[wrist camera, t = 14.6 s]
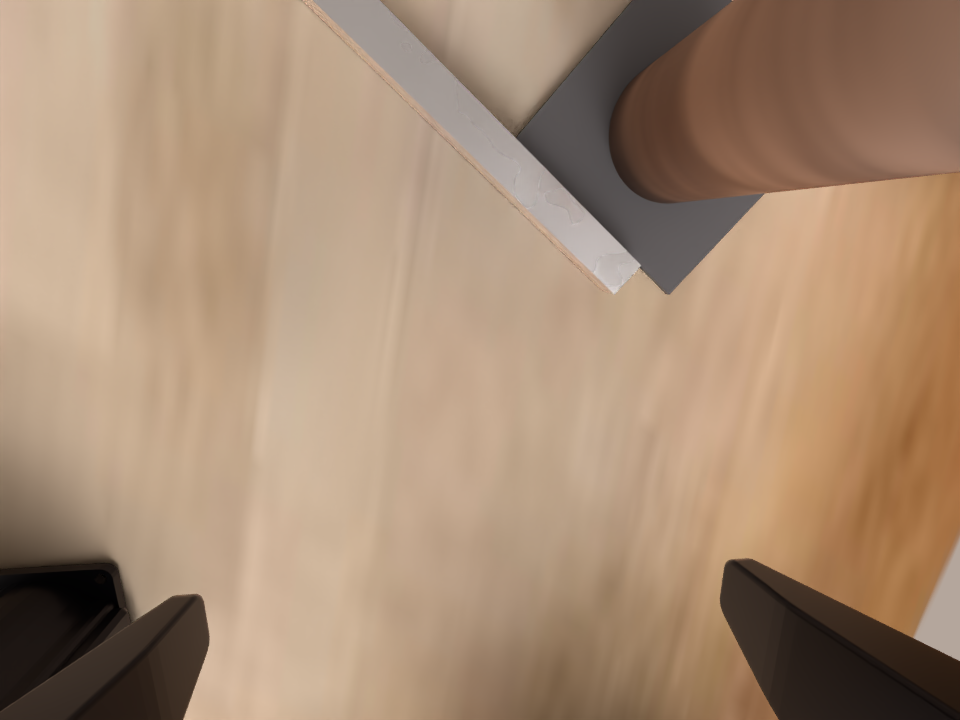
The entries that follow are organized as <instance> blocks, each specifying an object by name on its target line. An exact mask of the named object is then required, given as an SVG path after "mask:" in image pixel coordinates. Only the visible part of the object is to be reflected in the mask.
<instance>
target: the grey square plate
mask: <svg viewBox="0 0 960 720" xmlns="http://www.w3.org/2000/svg"><path fill="white" fill-rule="evenodd" d="M731 2H732V0H632V1H631V3H630V4H629V5H628V6H627V7H626V8H625V10H624V11H623V12H622V13H621V14H620V16H619V17H618V18H617V19H616V20H615V21H614V23H613V24H612V25H611V26H610V27H609V28H608V30H607V31H606V32H605V33H604V34H603V36H602V37H601V38H600V39H599V40H598V41H597V43H596V44H595V45H594V46H593V47H592V49H591V50H590V51H589V52H588V53H587V54H586V56H585V57H584V58H583V59H582V60H581V61H580V63H579V64H578V65H577V66H576V67H575V69H574V70H573V71H572V72H571V73H570V74H569V76H568V77H567V78H566V79H565V80H564V82H563V83H562V84H561V85H560V86H559V87H558V89H557V90H556V91H555V92H554V93H553V95H552V96H551V97H550V98H549V99H548V100H547V102H546V103H545V104H544V105H543V106H542V107H541V109H540V110H539V111H538V112H537V113H536V115H535V116H534V117H533V118H532V119H531V120H530V122H529V123H528V124H527V125H526V126H525V128H524V129H523V130H522V131H521V132H520V133H519V135H518V136H517V137H516V139H517V140H518V141H519V142H520V143H521V144H522V145H523V146H524V147H525V148H526V149H527V150H528V151H529V152H530V153H531V154H532V155H533V156H534V157H535V158H536V159H537V160H538V161H539V162H540V163H541V164H542V165H543V166H544V167H545V168H546V169H547V170H548V171H549V172H550V173H551V174H552V175H553V176H554V177H555V178H556V179H557V180H558V181H559V183H560V184H561V185H562V186H563V187H564V188H565V189H566V190H567V191H568V192H569V193H570V194H571V195H572V196H573V197H574V198H575V199H576V200H577V201H578V202H579V203H580V204H581V205H582V206H583V207H584V208H585V209H586V210H587V211H588V212H589V213H590V214H591V215H592V216H593V217H594V218H595V219H596V220H597V221H598V222H599V223H600V224H601V225H602V226H603V227H604V228H605V229H606V230H607V231H608V232H609V233H610V234H611V235H612V236H613V237H614V238H615V239H616V240H617V241H618V242H619V243H620V244H621V245H622V246H623V247H624V248H625V249H626V250H627V251H628V252H629V254H630V255H631V256H632V257H633V258H634V259H635V260H636V261H637V262H638V263H639V264H640V265H641V266H640V268H641V269H642V270H643V271H644V272H645V273H646V274H647V275H648V276H649V277H650V278H651V279H652V280H653V281H654V282H655V283H656V284H657V285H658V286H659V287H660V288H661V289H662V290H663V291H664V292H665V293H666V294H670V293H671V292H672V291H673V290H674V289H675V288H676V287H677V286H678V285H679V284H680V283H681V282H682V280H683V279H684V278H685V277H686V276H687V275H688V274H689V273H690V272H691V271H692V270H693V269H694V268H695V267H696V266H697V265H698V263H699V262H700V261H701V260H702V259H703V258H704V257H705V256H706V255H707V254H708V253H709V252H710V251H711V250H712V249H713V248H714V247H715V245H716V244H717V243H718V242H719V241H720V240H721V239H722V238H723V237H724V236H725V235H726V234H727V233H728V232H729V231H730V230H731V229H732V227H733V226H734V225H735V224H736V223H737V222H738V221H739V220H740V219H741V218H742V217H743V216H744V215H745V214H746V213H747V212H748V210H749V209H750V208H751V207H752V206H753V205H754V204H755V203H756V202H757V201H758V200H759V199H760V198H761V197H762V196H763V195H764V194H765V193H763V194H754V195H744V196H735V197H726V198H717V199H708V200H698V201H689V202H680V203H670V204H667V203H657V202H652V201H649V200H647V199H644V198H642V197H640V196H639V195H637V194H636V193H634V192H633V191H632V190H631V189H630V188H628V187H627V186H626V185H625V183H624V182H623V181H622V179H621V178H620V176H619V175H618V173H617V171H616V169H615V167H614V164H613V162H612V158H611V154H610V148H609V128H610V122H611V117H612V113H613V111H614V108H615V105H616V103H617V101H618V99H619V97H620V95H621V94H622V92H623V91H624V89H625V88H626V86H627V85H628V84H629V83H630V82H631V81H632V80H633V79H634V78H635V77H636V76H637V75H638V74H639V73H640V72H642V71H643V70H644V69H646V68H647V67H648V66H649V65H651V64H652V63H653V62H655V61H656V60H657V59H658V58H660V57H661V56H662V55H664V54H665V53H666V52H667V51H669V50H670V49H671V48H673V47H674V46H675V45H676V44H678V43H679V42H680V41H682V40H683V39H684V38H686V37H687V36H688V35H689V34H691V33H692V32H693V31H695V30H696V29H697V28H698V27H700V26H701V25H702V24H704V23H705V22H706V21H707V20H709V19H710V18H711V17H713V16H714V15H715V14H716V13H718V12H719V11H720V10H722V9H723V8H724V7H725V6H727V5H728V4H729V3H731Z"/></svg>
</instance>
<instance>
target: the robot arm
mask: <svg viewBox="0 0 960 720" xmlns="http://www.w3.org/2000/svg"><path fill="white" fill-rule="evenodd" d="M101 574H103V575H104V576H106V578H104V577H103V576H102V575H101ZM720 604H721V609H722V612H723V614H724V616H725V618H726V620H727V622H728V624H729V626H730V628H731V630H732V632H733V634H734V636H735V638H736V640H737V642H738V644H739V646H740V648H741V650H742V652H743V654H744V656H745V658H746V660H747V662H748V664H749V666H750V668H751V670H752V672H753V674H754V676H755V678H756V680H757V682H758V683H759V685H760V687H761V689H762V691H763V693H764V695H765V697H766V699H767V700H768V702H769V704H770V706H771V707H772V709H773V711H774V712H775V714H776V716H777V717H778V719H779V720H960V661H958V660H956V659H954V658H952V657H950V656H948V655H946V654H944V653H942V652H940V651H938V650H936V649H934V648H932V647H930V646H928V645H926V644H924V643H922V642H920V641H918V640H916V639H914V638H912V637H910V636H908V635H905V634H903V633H901V632H899V631H897V630H895V629H893V628H891V627H889V626H887V625H885V624H883V623H881V622H879V621H877V620H875V619H873V618H871V617H869V616H867V615H865V614H863V613H861V612H859V611H857V610H855V609H853V608H851V607H849V606H846V605H844V604H842V603H840V602H838V601H836V600H834V599H832V598H830V597H828V596H826V595H824V594H822V593H820V592H818V591H816V590H814V589H812V588H810V587H808V586H806V585H804V584H802V583H800V582H798V581H796V580H794V579H792V578H789V577H787V576H785V575H783V574H781V573H779V572H777V571H775V570H773V569H771V568H769V567H767V566H765V565H763V564H761V563H759V562H757V561H755V560H753V559H748V558H746V559H731V560H729V561H727V562H726V564H725V567H724V573H723V580H722V587H721V594H720ZM208 647H209V629H208V623H207V617H206V611H205V605H204V601H203V598H202V597H201V596H200V595H198V594H188V595H176V596H172V597H170V598H169V599H167V600H166V601H164V602H163V603H161V604H160V605H158V606H157V607H155V608H154V609H152V610H151V611H149V612H148V613H146V614H145V615H143V616H142V617H140V618H139V619H137V620H136V621H134V622H133V623H131V622H130V618H129V613H128V611H127V609H126V604H125V599H124V595H123V590H122V585H121V581H120V576H119V572H118V570H117V568H116V567H115V566H114V565H111V564H108V563H99V564H82V565H65V566H48V567H32V568H15V569H0V720H183V719H184V716H185V713H186V710H187V708H188V705H189V702H190V699H191V696H192V694H193V691H194V688H195V685H196V682H197V680H198V677H199V674H200V671H201V668H202V665H203V663H204V660H205V657H206V654H207V651H208Z"/></svg>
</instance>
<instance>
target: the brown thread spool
mask: <svg viewBox="0 0 960 720" xmlns="http://www.w3.org/2000/svg"><path fill="white" fill-rule="evenodd" d="M609 148H610V154H611V158H612V162H613V164H614V167H615V169H616V171H617V173H618V175H619V176H620V178H621V179H622V181H623V182H624V183H625V185H626V186H627V187H628V188H630V189H631V190H632V191H633V192H634V193H636V194H637V195H639V196H640V197H642V198H644V199H647V200H649V201H652V202H657V203H667V204H670V203H680V202H689V201H698V200H708V199H717V198H726V197H735V196H744V195H754V194H763V193H772V192H781V191H790V190H799V189H809V188H818V187H827V186H836V185H845V184H855V183H864V182H873V181H882V180H891V179H900V178H910V177H919V176H928V175H937V174H946V173H956V172H960V0H733V1H732V2H731V3H729V4H728V5H727V6H725V7H724V8H723V9H722V10H720V11H719V12H718V13H716V14H715V15H714V16H713V17H711V18H710V19H709V20H707V21H706V22H705V23H704V24H702V25H701V26H700V27H698V28H697V29H696V30H695V31H693V32H692V33H691V34H689V35H688V36H687V37H686V38H684V39H683V40H682V41H680V42H679V43H678V44H676V45H675V46H674V47H673V48H671V49H670V50H669V51H667V52H666V53H665V54H664V55H662V56H661V57H660V58H658V59H657V60H656V61H655V62H653V63H652V64H651V65H649V66H648V67H647V68H646V69H644V70H643V71H642V72H640V73H639V74H638V75H637V76H636V77H635V78H634V79H633V80H632V81H631V82H630V83H629V84H628V85H627V86H626V88H625V89H624V91H623V92H622V94H621V95H620V97H619V99H618V101H617V103H616V105H615V108H614V111H613V113H612V117H611V122H610V128H609Z"/></svg>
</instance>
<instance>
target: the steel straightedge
mask: <svg viewBox="0 0 960 720" xmlns="http://www.w3.org/2000/svg"><path fill="white" fill-rule="evenodd" d="M302 1H303V2H304V3H305V4H306V5H308V6H309V7H310V8H311V9H312V10H313V11H314V12H315V13H316V14H317V15H318V16H319V17H320V18H321V19H322V20H323V21H324V22H325V23H326V24H327V25H328V26H329V27H330V28H331V29H332V30H333V31H334V32H335V33H336V34H337V35H338V36H339V37H341V38H342V39H343V40H344V41H345V42H346V43H347V44H348V45H349V46H350V47H351V48H352V49H353V50H354V51H355V52H356V53H357V54H358V55H359V56H360V57H361V58H362V59H363V60H364V61H365V62H366V63H367V64H368V65H369V66H370V67H371V68H373V69H374V70H375V71H376V72H377V73H378V74H379V75H380V76H381V77H382V78H383V79H384V80H385V81H386V82H387V83H388V84H389V85H390V86H391V87H392V88H393V89H394V90H395V91H396V92H397V93H398V94H399V95H400V96H401V97H402V98H403V99H405V100H406V101H407V102H408V103H409V104H410V105H411V106H412V107H413V108H414V109H415V110H416V111H417V112H418V113H419V114H420V115H421V116H422V117H423V118H424V119H425V120H426V121H427V122H428V123H429V124H430V125H431V126H432V127H433V128H434V129H435V130H437V131H438V132H439V133H440V134H441V135H442V136H443V137H444V138H445V139H446V140H447V141H448V142H449V143H450V144H451V145H452V146H453V147H454V148H455V149H456V150H457V151H458V152H459V153H460V154H461V155H462V156H463V157H464V158H465V159H466V160H467V161H469V162H470V163H471V164H472V165H473V166H474V167H475V168H476V169H477V170H478V171H479V172H480V173H481V174H482V175H483V176H484V177H485V178H486V179H487V180H488V181H489V182H490V183H491V184H492V185H493V186H494V187H495V188H496V189H497V190H498V191H499V192H501V193H502V194H503V195H504V196H505V197H506V198H507V199H508V200H509V201H510V202H511V203H512V204H513V205H514V206H515V207H516V208H517V209H518V210H519V211H520V212H521V213H522V214H523V215H524V216H525V217H526V218H527V219H528V220H529V221H530V222H531V223H533V224H534V225H535V226H536V227H537V228H538V229H539V230H540V231H541V232H542V233H543V234H544V235H545V236H546V237H547V238H548V239H549V240H550V241H551V242H552V243H553V244H554V245H555V246H556V247H557V248H558V249H559V250H560V251H561V252H562V253H563V254H564V255H566V256H567V257H568V258H569V259H570V260H571V261H572V262H573V263H574V264H575V265H576V266H577V267H578V268H579V269H580V270H581V271H582V272H583V273H584V274H585V275H586V276H587V277H588V278H589V279H590V280H591V281H592V282H593V283H594V284H595V285H596V286H598V287H599V288H600V289H601V290H602V291H605V292H608V293H611V294H614V295H615V293H616V292H617V291H618V290H619V289H620V288H621V287H622V286H623V285H624V284H625V283H626V282H627V281H628V279H629V278H630V277H631V276H632V275H633V274H634V273H635V272H636V271H637V270H638V269H639V268H640V266H641V265H640V264H639V263H638V262H637V261H636V260H635V259H634V258H633V257H632V256H631V255H630V254H629V252H628V251H627V250H626V249H625V248H624V247H623V246H622V245H621V244H620V243H619V242H618V241H617V240H616V239H615V238H614V237H613V236H612V235H611V234H610V233H609V232H608V231H607V230H606V229H605V228H604V227H603V226H602V225H601V224H600V223H599V222H598V221H597V220H596V219H595V218H594V217H593V216H592V215H591V214H590V213H589V212H588V211H587V210H586V209H585V208H584V207H583V206H582V205H581V204H580V203H579V202H578V201H577V200H576V199H575V198H574V197H573V196H572V195H571V194H570V193H569V192H568V191H567V190H566V189H565V188H564V187H563V186H562V185H561V184H560V183H559V181H558V180H557V179H556V178H555V177H554V176H553V175H552V174H551V173H550V172H549V171H548V170H547V169H546V168H545V167H544V166H543V165H542V164H541V163H540V162H539V161H538V160H537V159H536V158H535V157H534V156H533V155H532V154H531V153H530V152H529V151H528V150H527V149H526V148H525V147H524V146H523V145H522V144H521V143H520V142H519V141H518V140H517V139H516V138H515V137H514V136H513V135H512V134H511V133H510V132H509V131H508V130H507V129H506V128H505V127H504V126H503V125H502V124H501V123H500V122H499V121H498V120H497V119H496V118H495V117H494V116H493V115H492V114H491V113H490V112H489V110H488V109H487V108H486V107H485V106H484V105H483V104H482V103H481V102H480V101H479V100H478V99H477V98H476V97H475V96H474V95H473V94H472V93H471V92H470V91H469V90H468V89H467V88H466V87H465V86H464V85H463V84H462V83H461V82H460V81H459V80H458V79H457V78H456V77H455V76H454V75H453V74H452V73H451V72H450V71H449V70H448V69H447V68H446V67H445V66H444V65H443V64H442V63H441V62H440V61H439V60H438V59H437V58H436V57H435V56H434V55H433V54H432V53H431V52H430V51H429V50H428V49H427V48H426V47H425V46H424V45H423V44H422V43H421V42H420V41H419V39H418V38H417V37H416V36H415V35H414V34H413V33H412V32H411V31H410V30H409V29H408V28H407V27H406V26H405V25H404V24H403V23H402V22H401V21H400V20H399V19H398V18H397V17H396V16H395V15H394V14H393V13H392V12H391V11H390V10H389V9H388V8H387V7H386V6H385V5H384V4H383V3H382V2H381V1H380V0H302Z"/></svg>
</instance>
